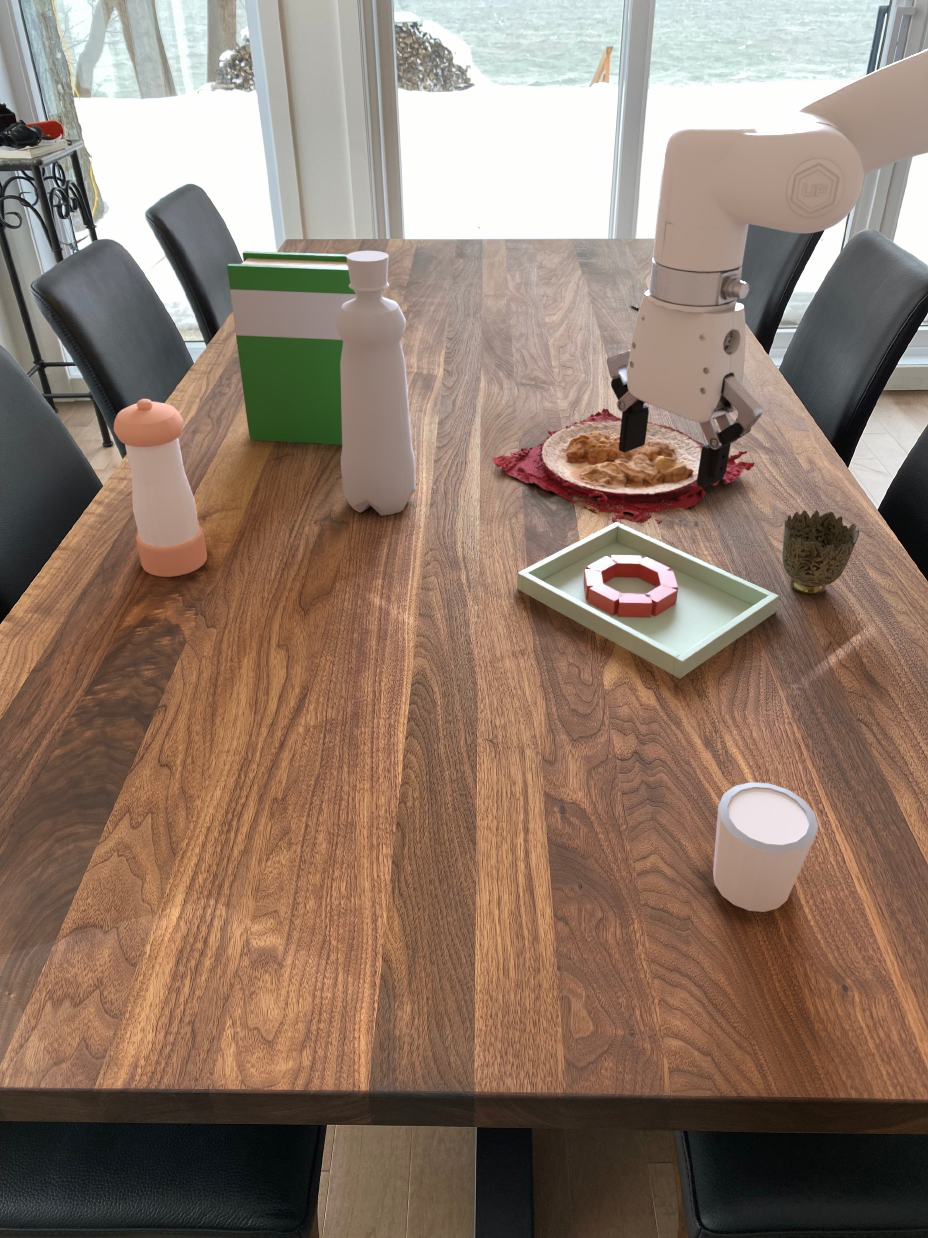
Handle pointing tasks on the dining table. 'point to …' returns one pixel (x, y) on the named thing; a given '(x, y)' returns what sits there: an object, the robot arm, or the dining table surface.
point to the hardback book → (290, 343)
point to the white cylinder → (761, 844)
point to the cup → (816, 550)
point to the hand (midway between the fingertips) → (669, 464)
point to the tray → (675, 637)
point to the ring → (630, 603)
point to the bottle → (374, 392)
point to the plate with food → (617, 467)
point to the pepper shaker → (160, 490)
